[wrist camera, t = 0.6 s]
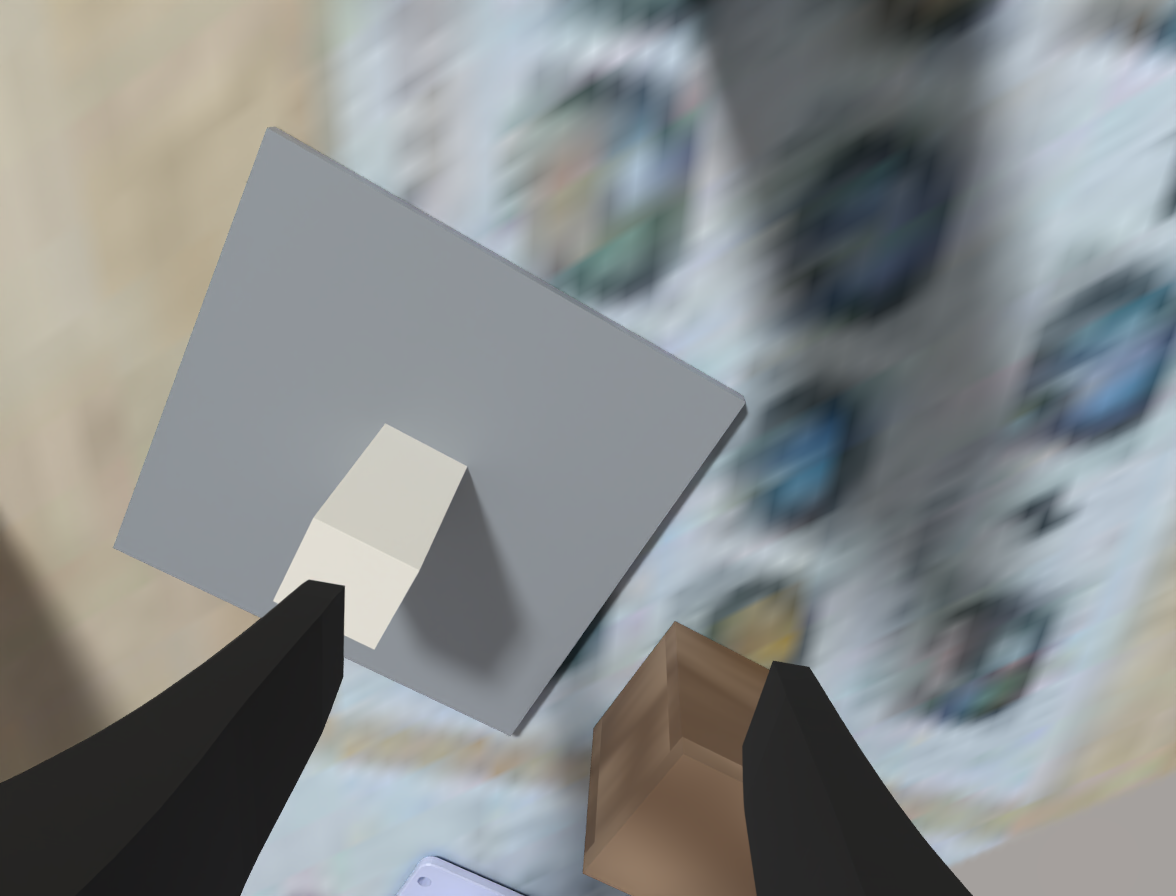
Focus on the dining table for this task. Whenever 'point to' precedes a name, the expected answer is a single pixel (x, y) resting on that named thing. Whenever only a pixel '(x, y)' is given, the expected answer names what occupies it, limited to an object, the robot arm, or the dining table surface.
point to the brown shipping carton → (674, 774)
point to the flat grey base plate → (412, 439)
